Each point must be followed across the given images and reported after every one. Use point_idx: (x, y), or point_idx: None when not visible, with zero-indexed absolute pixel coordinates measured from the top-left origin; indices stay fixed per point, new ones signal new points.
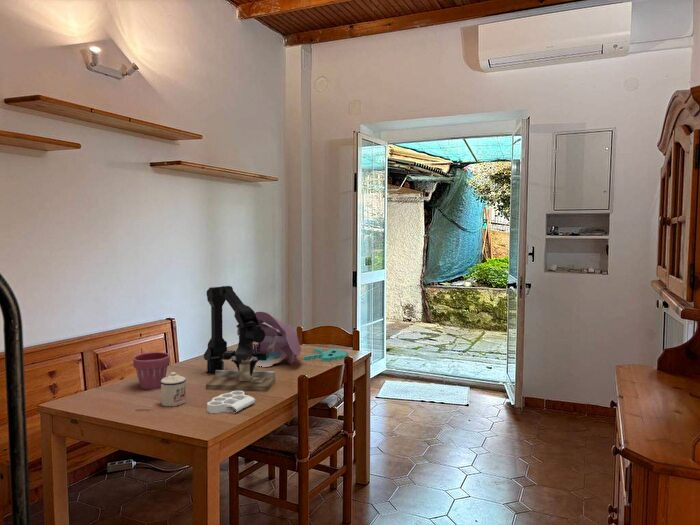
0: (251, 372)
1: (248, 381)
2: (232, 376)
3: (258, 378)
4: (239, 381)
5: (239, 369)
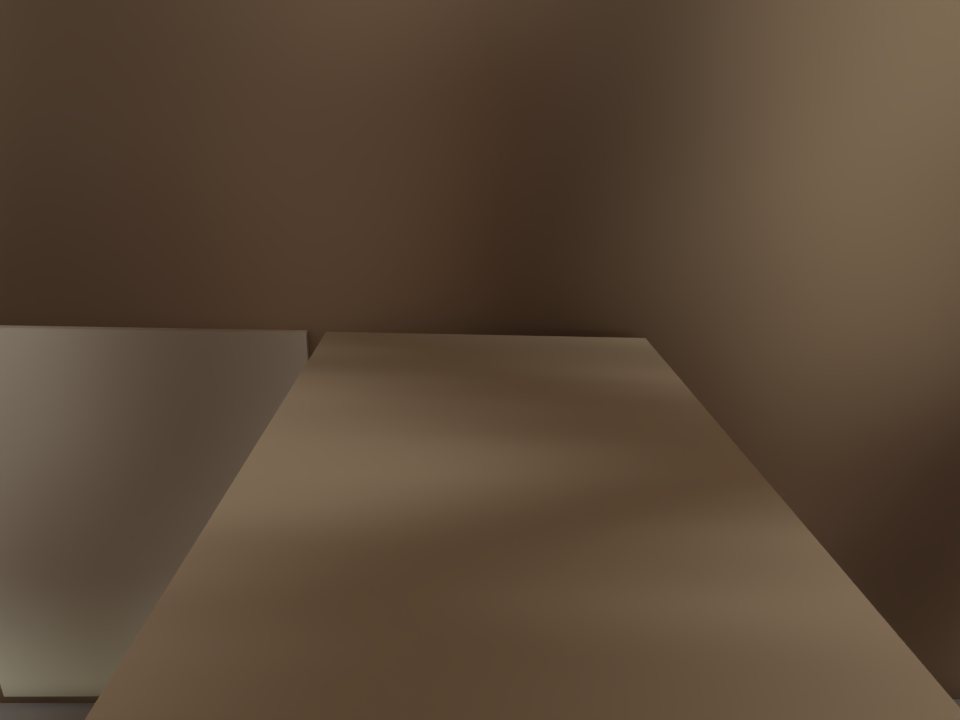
0: None
1: None
2: None
3: None
4: None
5: (871, 616)
